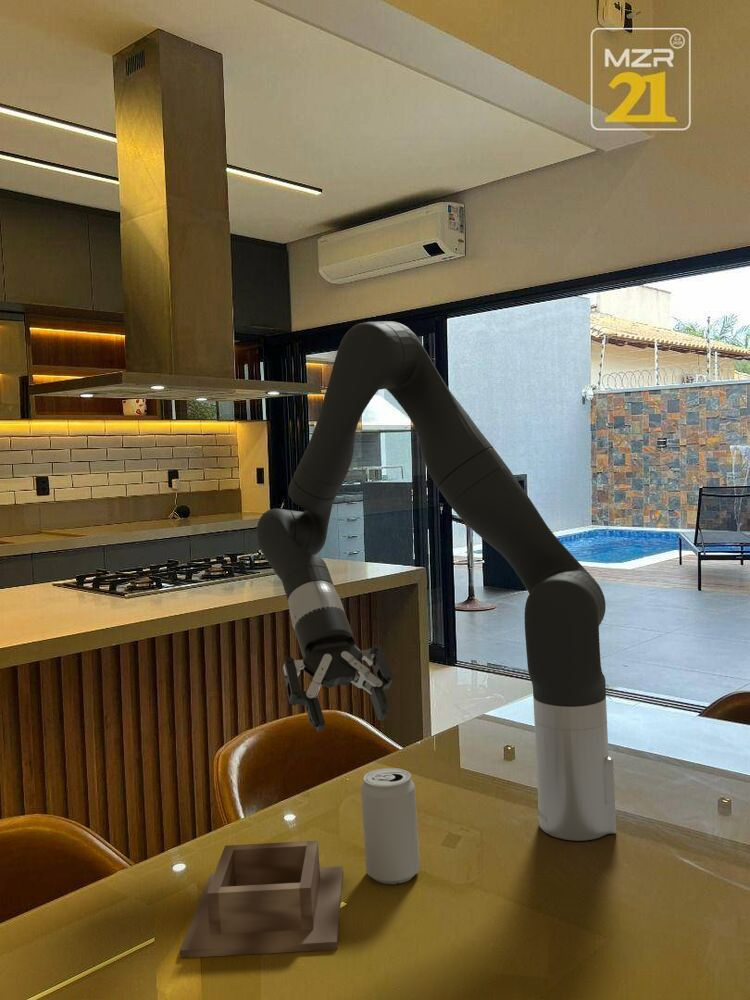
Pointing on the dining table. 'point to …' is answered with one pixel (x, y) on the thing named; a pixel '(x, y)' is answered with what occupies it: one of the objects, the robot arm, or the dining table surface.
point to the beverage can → (390, 825)
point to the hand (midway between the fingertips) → (352, 722)
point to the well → (267, 902)
